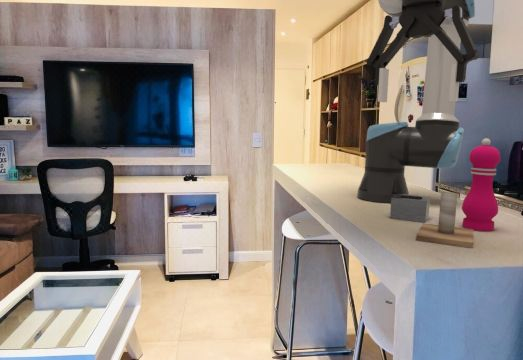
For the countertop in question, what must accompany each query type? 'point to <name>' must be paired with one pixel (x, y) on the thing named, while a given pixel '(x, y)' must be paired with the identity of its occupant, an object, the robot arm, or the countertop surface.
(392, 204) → the grey square ring block
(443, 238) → the peg on square base
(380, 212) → the countertop surface
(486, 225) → the pepper mill
